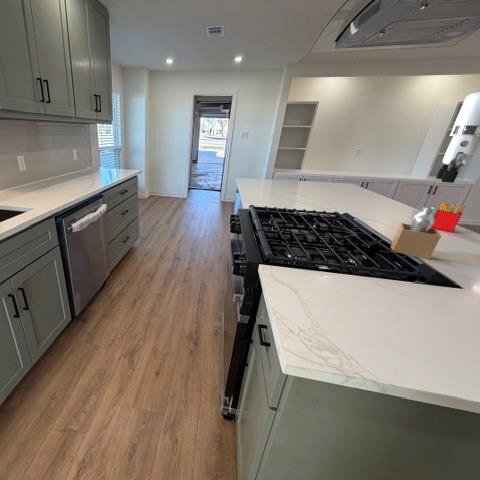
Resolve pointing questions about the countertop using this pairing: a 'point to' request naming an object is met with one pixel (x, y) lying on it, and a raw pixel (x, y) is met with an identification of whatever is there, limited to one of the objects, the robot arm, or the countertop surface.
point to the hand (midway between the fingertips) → (444, 180)
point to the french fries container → (447, 217)
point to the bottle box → (415, 241)
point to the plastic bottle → (423, 220)
